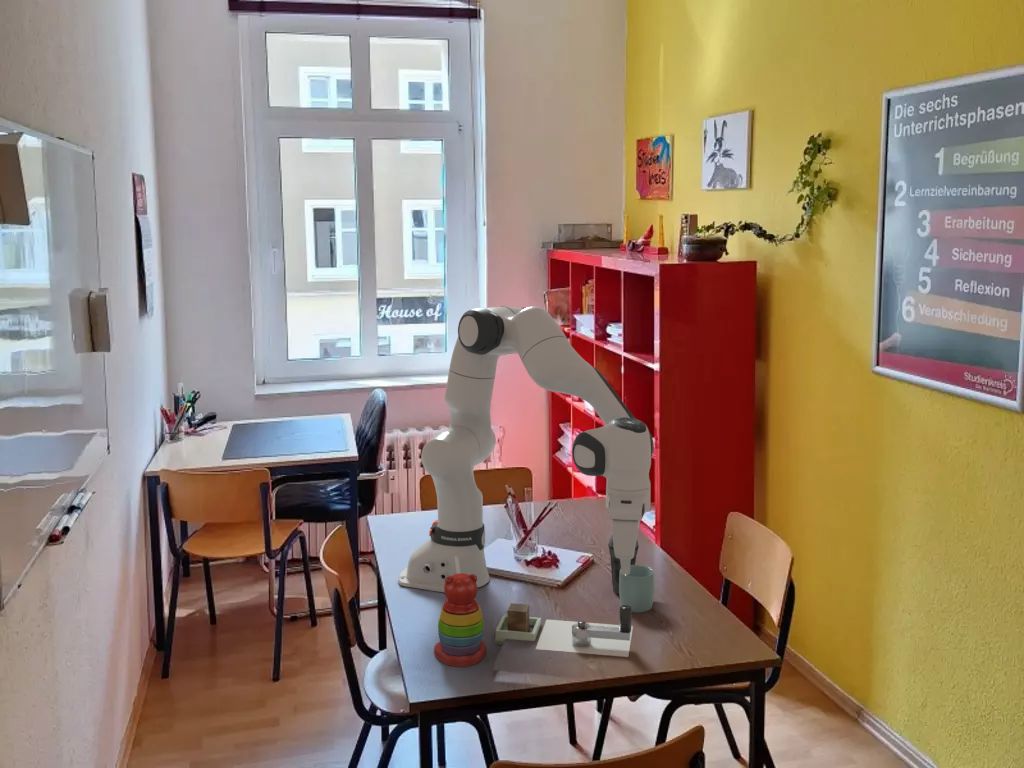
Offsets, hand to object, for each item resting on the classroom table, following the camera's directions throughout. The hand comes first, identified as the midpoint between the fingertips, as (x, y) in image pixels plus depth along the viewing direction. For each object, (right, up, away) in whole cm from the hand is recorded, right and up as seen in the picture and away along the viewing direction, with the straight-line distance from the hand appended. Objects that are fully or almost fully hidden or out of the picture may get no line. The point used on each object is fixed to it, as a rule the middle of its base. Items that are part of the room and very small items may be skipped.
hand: (627, 565), depth 197 cm
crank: (-5, -17, +4) cm, 18 cm away
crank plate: (-8, -18, +8) cm, 21 cm away
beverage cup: (+3, -13, +37) cm, 39 cm away
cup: (+5, -16, +25) cm, 29 cm away
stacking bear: (-34, -20, +3) cm, 39 cm away
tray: (-22, -18, +11) cm, 30 cm away
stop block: (-22, -17, +11) cm, 30 cm away
